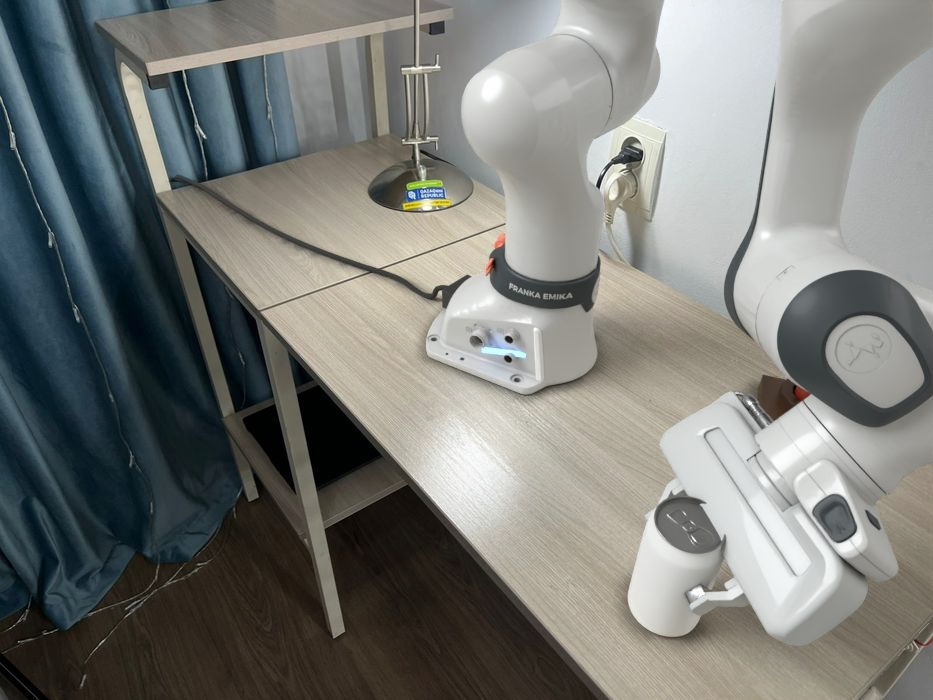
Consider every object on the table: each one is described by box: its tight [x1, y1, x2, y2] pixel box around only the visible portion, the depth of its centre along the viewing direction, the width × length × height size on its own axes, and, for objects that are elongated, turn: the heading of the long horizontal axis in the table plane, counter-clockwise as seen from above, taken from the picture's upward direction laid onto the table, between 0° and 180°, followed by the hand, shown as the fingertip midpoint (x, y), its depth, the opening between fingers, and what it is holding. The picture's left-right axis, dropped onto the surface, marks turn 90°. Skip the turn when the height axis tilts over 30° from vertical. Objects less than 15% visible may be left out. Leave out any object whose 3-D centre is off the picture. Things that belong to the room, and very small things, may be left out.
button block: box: [757, 374, 801, 421], centre depth 80 cm, size 10×8×4 cm
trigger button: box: [795, 386, 811, 401], centre depth 78 cm, size 4×4×2 cm
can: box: [627, 495, 726, 638], centre depth 59 cm, size 6×6×12 cm
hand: (670, 564), depth 58 cm, fingers closed on can, 6 cm apart
